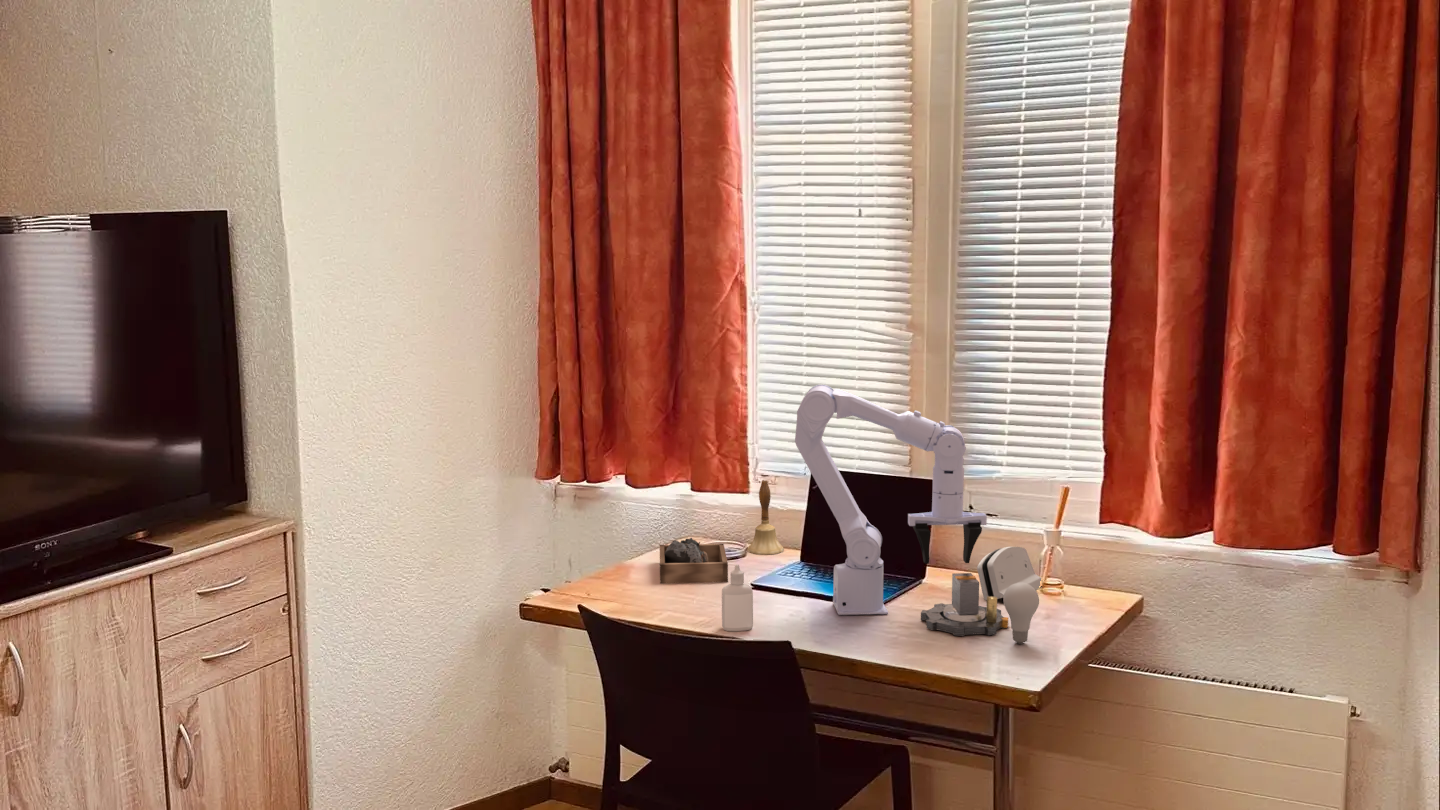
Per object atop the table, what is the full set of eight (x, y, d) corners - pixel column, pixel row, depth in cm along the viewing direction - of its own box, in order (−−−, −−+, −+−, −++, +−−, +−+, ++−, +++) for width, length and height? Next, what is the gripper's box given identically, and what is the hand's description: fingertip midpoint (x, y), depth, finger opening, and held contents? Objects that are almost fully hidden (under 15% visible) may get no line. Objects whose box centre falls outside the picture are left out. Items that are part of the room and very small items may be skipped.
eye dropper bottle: (747, 633, 227) (747, 569, 225) (718, 630, 229) (718, 566, 227) (755, 626, 231) (755, 563, 229) (727, 623, 233) (727, 560, 231)
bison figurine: (696, 581, 259) (731, 568, 266) (693, 549, 258) (728, 536, 265) (658, 571, 268) (693, 558, 275) (655, 540, 267) (690, 527, 273)
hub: (948, 630, 228) (948, 615, 228) (939, 617, 235) (939, 603, 235) (989, 629, 228) (990, 614, 228) (979, 616, 236) (979, 602, 235)
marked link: (959, 614, 228) (959, 581, 227) (951, 604, 234) (952, 572, 233) (978, 614, 228) (979, 581, 227) (970, 604, 234) (971, 572, 233)
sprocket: (981, 641, 221) (981, 609, 220) (906, 624, 231) (907, 593, 230) (1021, 620, 233) (1022, 590, 232) (948, 604, 243) (949, 575, 242)
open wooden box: (660, 583, 259) (659, 564, 258) (659, 562, 275) (659, 544, 274) (727, 582, 259) (727, 563, 259) (723, 561, 275) (723, 543, 275)
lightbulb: (997, 638, 223) (999, 578, 222) (1031, 637, 224) (1032, 577, 222) (1008, 650, 217) (1009, 588, 216) (1042, 649, 218) (1044, 587, 216)
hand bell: (744, 554, 282) (743, 484, 279) (751, 544, 290) (750, 476, 287) (780, 556, 280) (780, 485, 277) (786, 546, 288) (786, 478, 285)
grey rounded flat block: (1006, 605, 243) (992, 555, 244) (985, 608, 246) (971, 559, 247) (1044, 585, 256) (1030, 538, 256) (1024, 589, 259) (1010, 542, 259)
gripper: (913, 496, 231) (912, 568, 233) (991, 495, 231) (989, 567, 233) (906, 488, 238) (905, 558, 240) (982, 487, 238) (980, 557, 240)
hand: (946, 562), depth 237 cm, fingers open, 7 cm apart
